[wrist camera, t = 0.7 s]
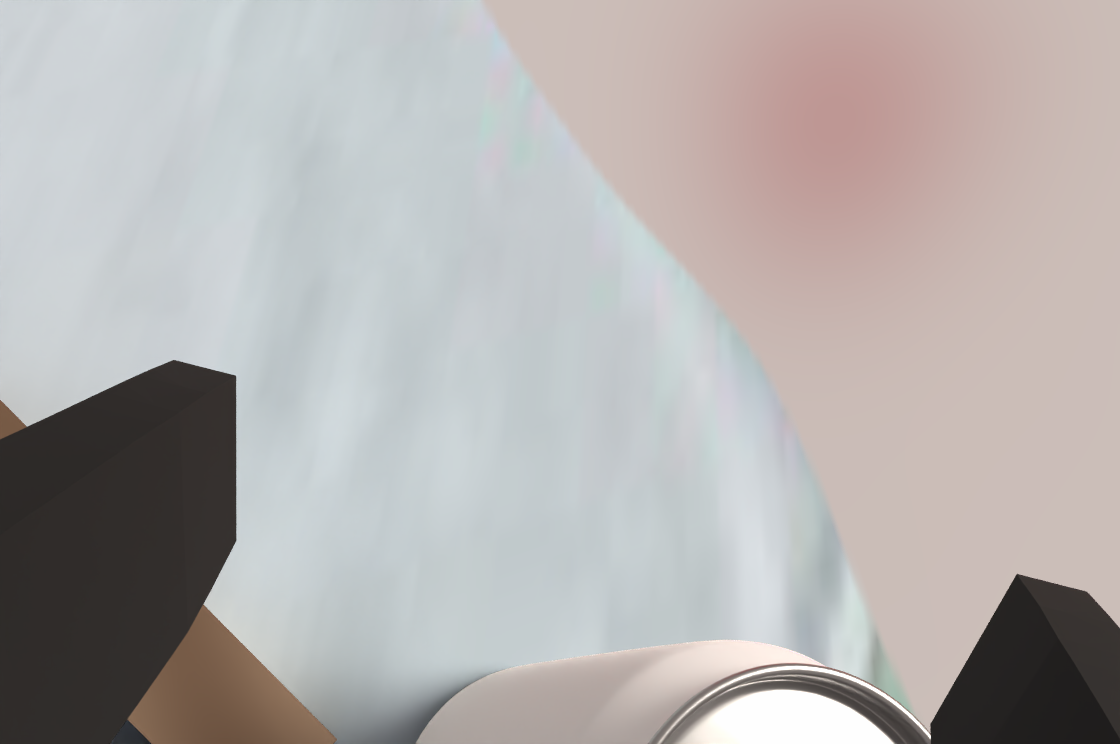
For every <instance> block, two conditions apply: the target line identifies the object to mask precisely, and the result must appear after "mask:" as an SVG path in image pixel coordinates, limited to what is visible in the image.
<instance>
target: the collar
mask: <svg viewBox="0 0 1120 744" xmlns="http://www.w3.org/2000/svg"><path fill="white" fill-rule="evenodd" d="M26 427H27V426H26V425H25V424H24V423H23V422H22V421H21V420H20V419H19V418H18V417H17V416H16V415H15V414H14V413H13V412H12V411H11V410H10V409H9V408H8V407H7V406H6V405H5V404H4V403H3V402H2V401H1V400H0V439H2V438H4V437H6V436H8V435H11V434H13V433H15V432H17V431H19V430H21V429H24V428H26ZM128 721H129V722H130V723H131V724H132V725H133V726H134V727H135V728H136V729H137V730H138V731H139V732H140V733H141V734H142V735H143V736H144V737H145V738H146V739H147V740H148V741H149V742H150V743H151V744H333V743H334V742H335V741H336V740H337V739H336V738H335V737H334V736H333V735H332V734H331V733H330V732H329V731H328V730H327V729H326V728H325V727H324V726H323V725H322V724H321V723H320V722H319V721H318V720H317V719H316V718H315V717H314V716H313V715H312V714H311V713H310V712H309V711H308V710H307V709H306V708H305V707H304V706H303V705H302V704H301V703H300V702H299V701H298V700H297V699H296V698H295V697H294V696H293V695H292V694H291V693H290V692H289V691H288V690H287V689H286V688H285V686H284V685H283V684H282V683H281V682H280V681H279V680H278V679H277V678H276V677H275V676H274V675H273V674H272V673H271V672H270V671H269V670H268V669H267V668H266V667H265V666H264V665H263V664H262V663H261V662H260V661H259V660H258V659H257V658H256V657H255V656H254V655H253V654H252V653H251V652H250V651H249V650H248V649H247V648H246V647H245V646H244V645H243V644H242V643H241V642H240V641H239V640H238V639H237V638H236V637H235V636H234V635H233V634H232V633H231V632H230V631H229V630H228V629H227V628H226V627H225V626H224V625H223V624H222V623H221V622H220V621H219V620H218V619H217V618H216V617H215V616H214V615H213V614H212V613H211V612H210V611H209V610H208V609H207V608H206V607H205V606H204V605H203V606H202V607H201V609H200V611H199V613H198V615H197V617H196V618H195V620H194V622H193V624H192V626H191V627H190V629H189V631H188V633H187V634H186V636H185V637H184V639H183V640H182V642H181V643H180V645H179V646H178V647H177V649H176V650H175V652H174V653H173V655H172V656H171V658H170V659H169V661H168V662H167V663H166V665H165V666H164V668H163V669H162V671H161V672H160V673H159V675H158V676H157V678H156V679H155V681H154V682H153V683H152V685H151V686H150V688H149V689H148V691H147V692H146V694H145V695H144V696H143V698H142V699H141V701H140V702H139V704H138V705H137V706H136V708H135V709H134V711H133V712H132V713H131V715H130V716H129V718H128Z"/></svg>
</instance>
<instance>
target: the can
mask: <svg viewBox="0 0 1120 744" xmlns="http://www.w3.org/2000/svg"><path fill="white" fill-rule="evenodd" d="M416 744H931V733H930V732H929V731H928V730H927V729H926V728H925V727H924V725H923V724H922V723H921V722H920V721H919V720H918V719H917V718H916V717H915V716H914V715H913V714H912V713H911V712H909V711H908V710H907V709H906V708H905V707H904V706H903V705H901V704H900V703H899V702H898V701H896V700H895V699H894V698H892V697H891V696H890V695H888V694H887V693H885V692H884V691H882V690H880V689H879V688H877V687H875V686H874V685H872V684H870V683H868V682H866V681H864V680H862V679H860V678H858V677H856V676H853V675H851V674H848V673H845V672H842V671H840V670H836V669H833V668H829V667H826V666H824V665H822V664H821V663H819V662H817V661H815V660H813V659H811V658H809V657H807V656H805V655H802V654H800V653H797V652H795V651H792V650H789V649H786V648H782V647H779V646H775V645H770V644H765V643H760V642H751V641H741V640H713V641H697V642H688V643H680V644H671V645H663V646H655V647H647V648H640V649H632V650H624V651H617V652H610V653H602V654H595V655H588V656H581V657H574V658H567V659H560V660H553V661H547V662H540V663H534V664H528V665H522V666H517V667H513V668H508V669H505V670H501V671H498V672H495V673H493V674H490V675H488V676H486V677H483V678H481V679H479V680H477V681H475V682H474V683H472V684H470V685H469V686H467V687H466V688H464V689H463V690H461V691H460V692H459V693H457V694H456V695H455V696H453V697H452V698H451V699H450V700H449V701H448V702H447V703H446V704H445V705H444V706H443V707H442V708H441V709H440V710H439V711H438V712H437V713H436V714H435V715H434V717H433V718H432V719H431V720H430V722H429V723H428V724H427V726H426V727H425V729H424V730H423V732H422V733H421V735H420V737H419V738H418V740H417V742H416Z"/></svg>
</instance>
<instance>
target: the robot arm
mask: <svg viewBox="0 0 1120 744" xmlns="http://www.w3.org/2000/svg"><path fill="white" fill-rule="evenodd" d="M235 542H236V376H235V375H231V374H227V373H223V372H219V371H215V370H211V369H207V368H203V367H199V366H195V365H191V364H187V363H183V362H180V361H176V360H173V361H170V362H168V363H165V364H163V365H160V366H158V367H156V368H153V369H151V370H148V371H146V372H144V373H142V374H139V375H137V376H135V377H133V378H131V379H128V380H126V381H124V382H122V383H120V384H118V385H115V386H113V387H111V388H109V389H107V390H105V391H103V392H100V393H98V394H96V395H94V396H92V397H90V398H88V399H86V400H84V401H81V402H79V403H77V404H75V405H73V406H71V407H69V408H67V409H64V410H62V411H60V412H58V413H56V414H54V415H52V416H50V417H48V418H45V419H43V420H41V421H39V422H37V423H35V424H32V425H30V426H28V427H26V428H24V429H21V430H19V431H17V432H15V433H13V434H11V435H8V436H6V437H4V438H2V439H0V744H110V743H111V742H112V740H113V739H114V737H115V736H116V735H117V733H118V732H119V730H120V729H121V728H122V726H123V725H124V723H125V722H126V720H127V719H128V718H129V716H130V715H131V713H132V712H133V711H134V709H135V708H136V706H137V705H138V704H139V702H140V701H141V699H142V698H143V696H144V695H145V694H146V692H147V691H148V689H149V688H150V686H151V685H152V683H153V682H154V681H155V679H156V678H157V676H158V675H159V673H160V672H161V671H162V669H163V668H164V666H165V665H166V663H167V662H168V661H169V659H170V658H171V656H172V655H173V653H174V652H175V650H176V649H177V647H178V646H179V645H180V643H181V642H182V640H183V639H184V637H185V636H186V634H187V633H188V631H189V629H190V627H191V626H192V624H193V622H194V620H195V618H196V617H197V615H198V613H199V611H200V609H201V607H202V606H203V604H204V602H205V600H206V598H207V596H208V595H209V593H210V591H211V589H212V587H213V585H214V583H215V581H216V579H217V577H218V575H219V573H220V571H221V569H222V568H223V566H224V564H225V562H226V560H227V558H228V556H229V554H230V552H231V550H232V548H233V546H234V544H235ZM931 744H1120V628H1119V627H1118V626H1117V625H1116V623H1115V622H1114V621H1113V620H1112V619H1111V618H1110V616H1109V615H1108V614H1107V613H1106V612H1105V611H1104V610H1103V609H1102V608H1101V606H1100V605H1098V603H1097V602H1095V600H1094V599H1093V598H1092V597H1091V596H1090V595H1089V594H1088V593H1087V592H1085V591H1082V590H1078V589H1074V588H1070V587H1066V586H1062V585H1058V584H1054V583H1050V582H1046V581H1042V580H1038V579H1034V578H1030V577H1026V576H1023V575H1019V574H1017V575H1016V576H1015V578H1014V580H1013V582H1012V583H1011V585H1010V587H1009V589H1008V590H1007V592H1006V594H1005V596H1004V597H1003V599H1002V601H1001V603H1000V604H999V606H998V608H997V610H996V611H995V613H994V615H993V616H992V618H991V620H990V622H989V623H988V625H987V627H986V629H985V630H984V632H983V634H982V636H981V637H980V639H979V641H978V642H977V644H976V646H975V648H974V650H973V651H972V653H971V655H970V656H969V658H968V660H967V662H966V663H965V665H964V667H963V669H962V670H961V672H960V674H959V676H958V677H957V679H956V681H955V682H954V684H953V686H952V688H951V689H950V691H949V693H948V695H947V696H946V698H945V700H944V702H943V703H942V705H941V707H940V708H939V710H938V712H937V714H936V715H935V717H934V719H933V721H932V722H931Z"/></svg>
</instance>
